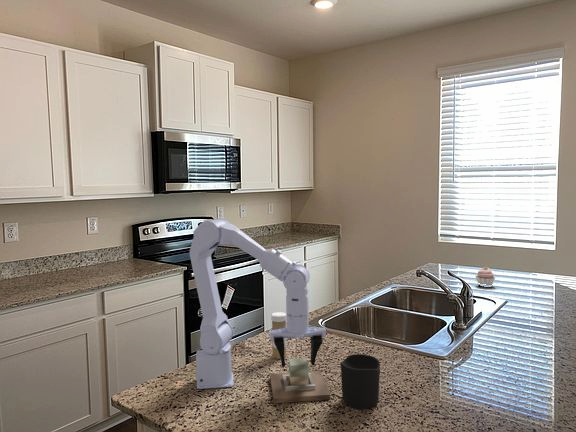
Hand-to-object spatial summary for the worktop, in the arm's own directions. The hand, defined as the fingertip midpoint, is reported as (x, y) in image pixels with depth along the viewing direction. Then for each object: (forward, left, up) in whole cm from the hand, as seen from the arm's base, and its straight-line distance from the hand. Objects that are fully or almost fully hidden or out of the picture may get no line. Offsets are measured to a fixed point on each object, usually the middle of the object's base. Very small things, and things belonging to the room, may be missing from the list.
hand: (297, 364), depth 117 cm
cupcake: (+106, +95, -7) cm, 143 cm away
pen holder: (+14, -9, -7) cm, 18 cm away
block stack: (0, 0, -5) cm, 5 cm away
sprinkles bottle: (-3, +22, -7) cm, 23 cm away
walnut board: (0, 0, -6) cm, 6 cm away
